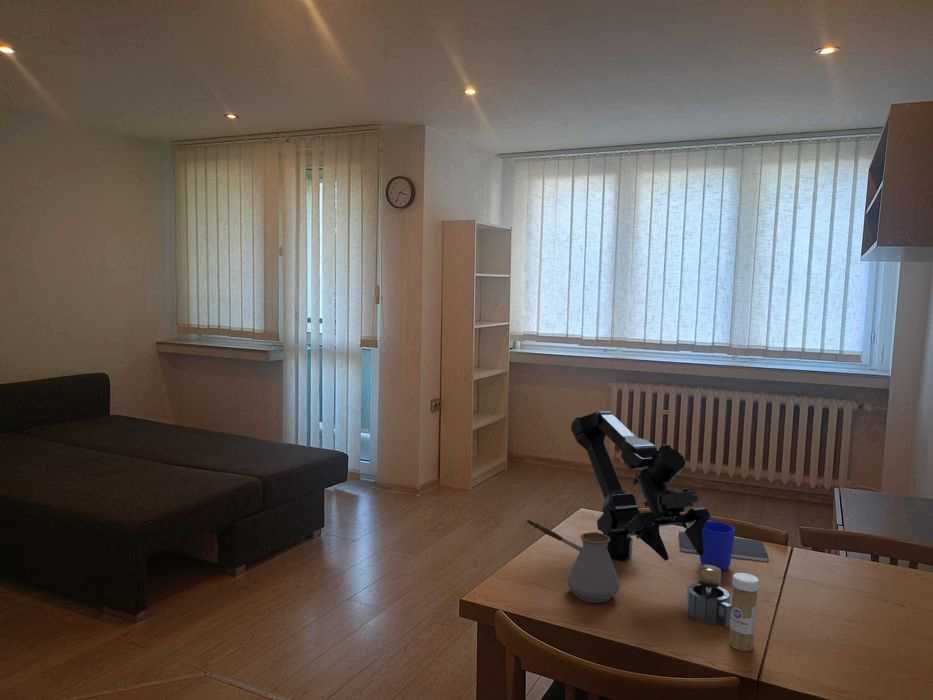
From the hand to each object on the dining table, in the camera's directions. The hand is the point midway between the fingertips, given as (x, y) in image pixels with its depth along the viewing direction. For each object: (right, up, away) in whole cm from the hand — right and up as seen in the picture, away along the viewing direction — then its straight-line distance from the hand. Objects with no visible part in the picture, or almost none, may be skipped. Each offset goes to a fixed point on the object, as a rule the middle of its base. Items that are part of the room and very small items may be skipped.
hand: (684, 557), depth 149 cm
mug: (+14, -8, +22) cm, 27 cm away
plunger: (+3, -8, -7) cm, 11 cm away
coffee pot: (-24, -8, +3) cm, 26 cm away
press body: (+3, -10, -7) cm, 13 cm away
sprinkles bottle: (+5, -11, -19) cm, 23 cm away
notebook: (+20, -8, +33) cm, 39 cm away
